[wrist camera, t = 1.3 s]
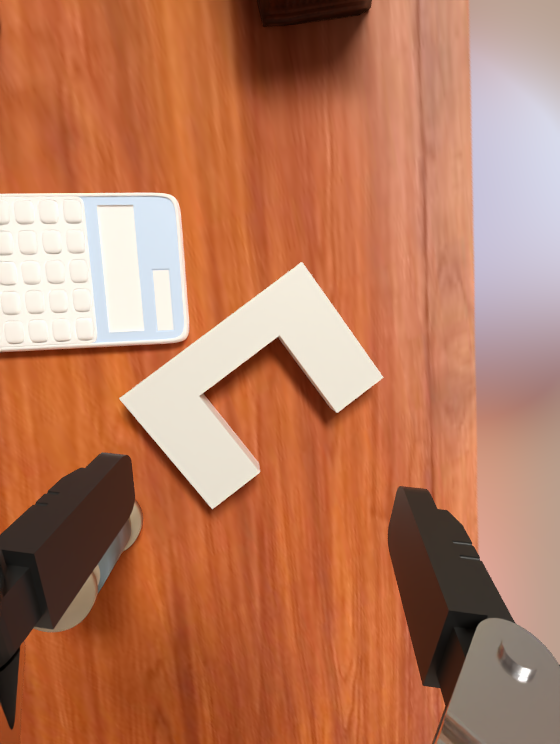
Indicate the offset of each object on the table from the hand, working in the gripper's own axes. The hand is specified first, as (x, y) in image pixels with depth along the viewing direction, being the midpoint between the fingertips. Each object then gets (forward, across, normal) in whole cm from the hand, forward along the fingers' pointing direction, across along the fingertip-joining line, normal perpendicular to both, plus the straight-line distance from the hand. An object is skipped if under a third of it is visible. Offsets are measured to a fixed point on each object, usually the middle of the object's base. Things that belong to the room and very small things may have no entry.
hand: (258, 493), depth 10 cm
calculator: (+22, +20, -3) cm, 31 cm away
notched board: (+22, +3, +6) cm, 23 cm away
